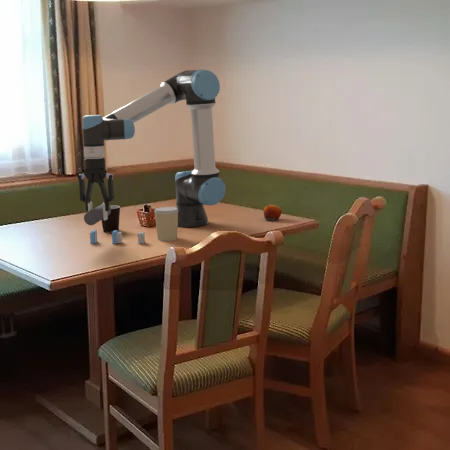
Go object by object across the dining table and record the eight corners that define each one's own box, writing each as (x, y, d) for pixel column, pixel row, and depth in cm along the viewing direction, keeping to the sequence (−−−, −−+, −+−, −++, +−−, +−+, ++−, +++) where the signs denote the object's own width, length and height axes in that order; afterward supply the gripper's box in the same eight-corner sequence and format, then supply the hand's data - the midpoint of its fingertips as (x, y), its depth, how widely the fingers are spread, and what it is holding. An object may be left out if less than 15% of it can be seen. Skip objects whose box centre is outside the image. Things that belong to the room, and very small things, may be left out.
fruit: (259, 218, 289) (262, 201, 291) (264, 225, 296) (267, 208, 298) (277, 220, 286) (280, 202, 288) (282, 226, 293) (284, 209, 295)
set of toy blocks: (144, 242, 257) (144, 230, 256) (142, 244, 254) (142, 232, 253) (92, 241, 260) (91, 230, 259) (89, 243, 257) (89, 231, 256)
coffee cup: (182, 236, 266) (181, 206, 263) (175, 241, 257) (174, 211, 254) (159, 235, 268) (158, 206, 265) (152, 241, 259) (151, 210, 256)
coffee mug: (117, 233, 274) (115, 209, 272) (97, 232, 276) (95, 208, 273) (126, 227, 285) (125, 204, 283) (107, 226, 287) (106, 203, 285)
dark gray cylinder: (113, 213, 257) (107, 201, 257) (99, 222, 241) (93, 209, 240) (101, 218, 258) (96, 206, 258) (87, 227, 242) (81, 214, 241)
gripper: (67, 158, 243) (71, 221, 247) (115, 158, 240) (118, 221, 245) (74, 156, 250) (78, 217, 255) (121, 156, 247) (124, 217, 252)
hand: (98, 219), depth 250 cm, fingers closed on dark gray cylinder, 5 cm apart
